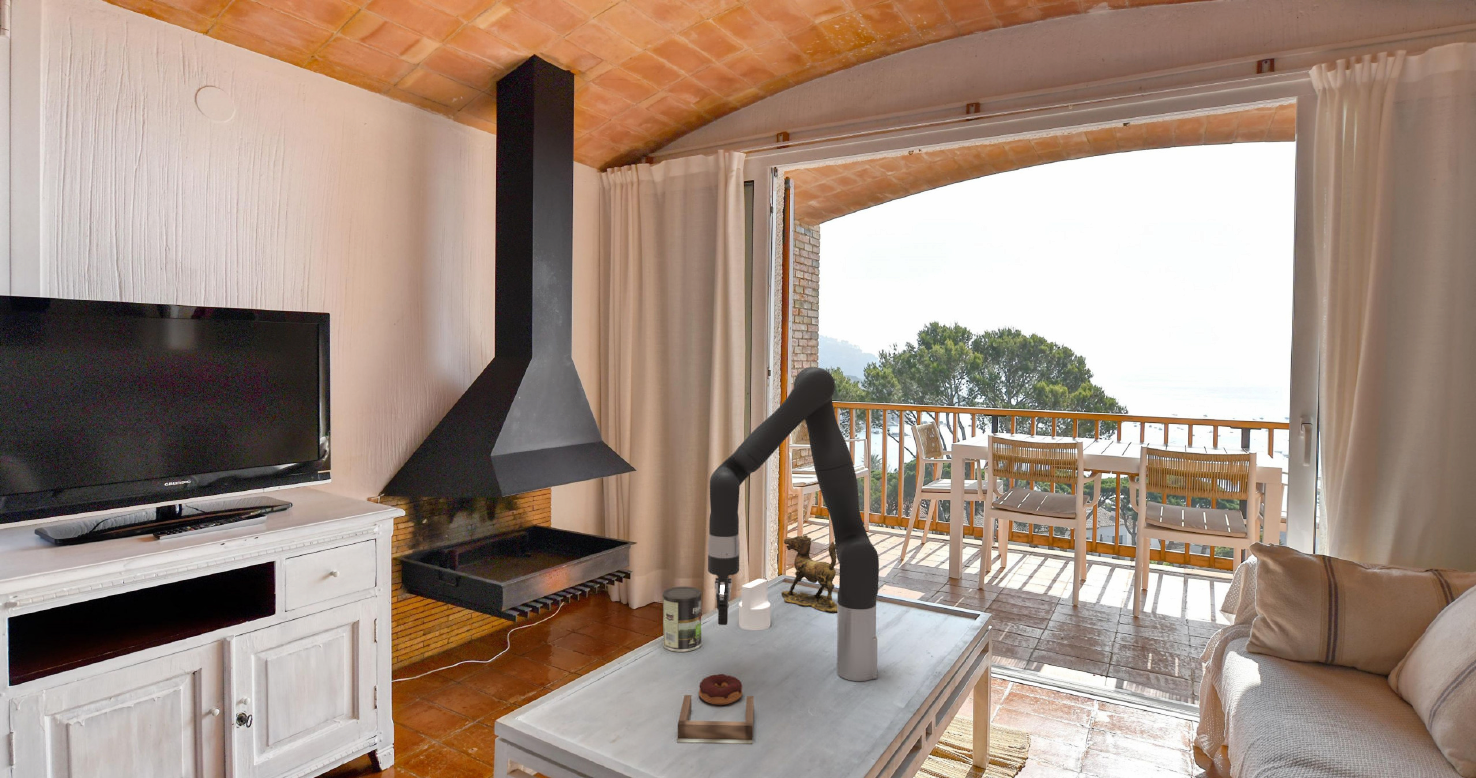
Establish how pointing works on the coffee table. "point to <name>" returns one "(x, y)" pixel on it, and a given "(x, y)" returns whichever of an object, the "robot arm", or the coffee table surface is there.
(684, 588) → the coffee can
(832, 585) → the figurine
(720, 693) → the donut
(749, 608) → the base with upright slab
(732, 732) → the walnut pocket
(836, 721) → the coffee table surface
